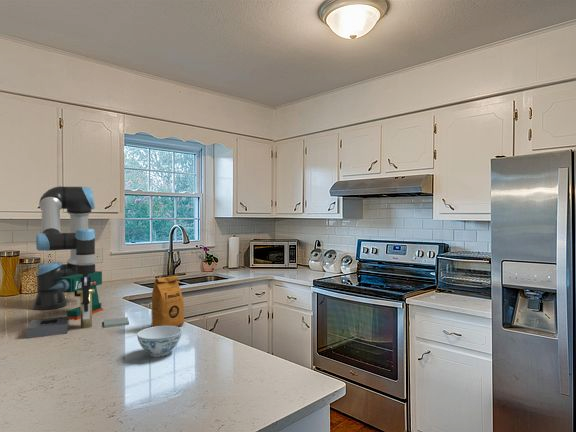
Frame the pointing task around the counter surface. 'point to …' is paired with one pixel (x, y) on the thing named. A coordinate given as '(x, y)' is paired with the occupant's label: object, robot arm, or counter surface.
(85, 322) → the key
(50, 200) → the robot arm
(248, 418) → the counter surface
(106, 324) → the pad
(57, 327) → the chuck block
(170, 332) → the chinaware
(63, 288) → the power tool
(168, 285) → the coffee package
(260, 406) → the counter surface
